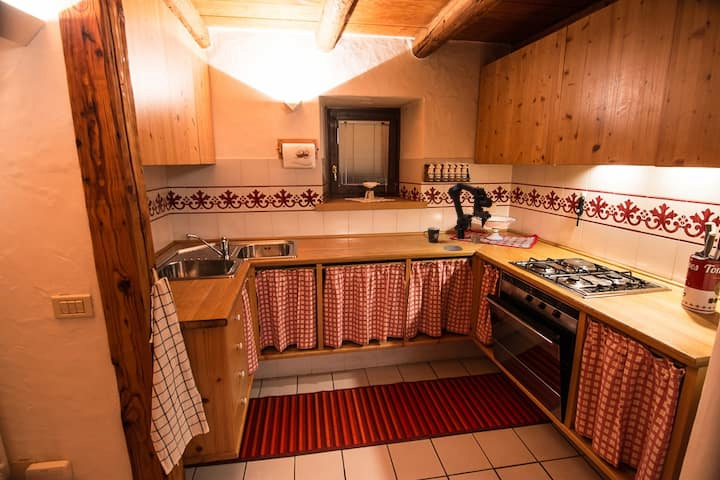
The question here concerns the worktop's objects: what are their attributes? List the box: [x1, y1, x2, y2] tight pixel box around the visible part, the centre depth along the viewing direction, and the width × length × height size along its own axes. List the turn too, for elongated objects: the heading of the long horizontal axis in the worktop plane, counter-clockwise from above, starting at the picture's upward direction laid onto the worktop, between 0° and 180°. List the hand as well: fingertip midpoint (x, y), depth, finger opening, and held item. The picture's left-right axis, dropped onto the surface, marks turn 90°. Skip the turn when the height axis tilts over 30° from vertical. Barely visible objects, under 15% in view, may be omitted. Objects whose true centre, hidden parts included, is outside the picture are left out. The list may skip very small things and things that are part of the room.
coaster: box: [443, 244, 463, 252], centre depth 238 cm, size 12×12×1 cm
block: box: [470, 234, 482, 245], centre depth 252 cm, size 6×4×5 cm, turn 12°
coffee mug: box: [423, 226, 440, 244], centre depth 255 cm, size 12×9×10 cm
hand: (476, 228), depth 251 cm, fingers open, 9 cm apart
